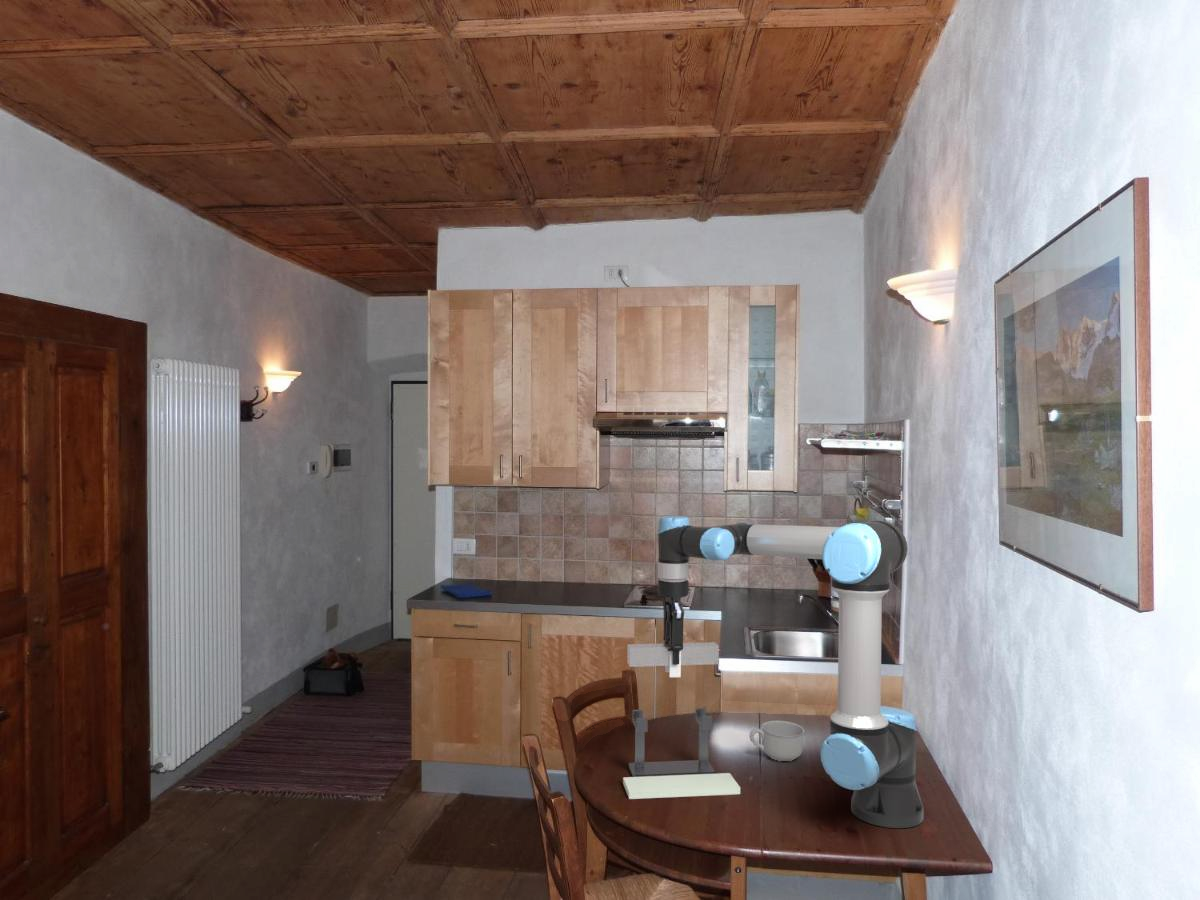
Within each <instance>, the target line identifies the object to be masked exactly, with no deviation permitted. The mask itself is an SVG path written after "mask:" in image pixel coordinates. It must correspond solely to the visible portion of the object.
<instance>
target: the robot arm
mask: <svg viewBox="0 0 1200 900" xmlns="http://www.w3.org/2000/svg"><path fill="white" fill-rule="evenodd" d="M657 539H658V540H657V541H658V542H657V543H658V561H657V577H658V578H659V579H658V580H657V581H658V582H657V593H658V596H661V597H663V598H665V600H663V602H662V606H663V607H662V608H663V637H662V638H663V641H664V643H670V648H668V651H669V666H664V667H665V670H664V672H665V673H668V676H669V678H682V677H681V676H682V672H681V671H682V668H681V667H682V665H681V650H683V643H684V617H685V609H684V607H683V603H682V602H681V601H682V600H681V598H683V597H687V596H688V595H689V593H690V589H689V587H690V586H689V585H690V582H689V580H688V578H689V573H690V571H689V570H691V568H692V566H691V565H689V563H690V560H689V559H690V558H694V559H695V558H696V559H703V560H704V559H705V560H710V561H726V560H728V559H729V558H730V556H734V555H735V556H736V555H738V556H739V555H743V556H744V555H745V556H763V557H780V558H794V559H795V558H796V559H810V560H811V559H813V560H821V561H822V564H823V567H824V569H825V571H826V572H828V574H829V575H828V576H830V577H831V578H830V580H831V582H830V583H831V588H832V590H833V591H834V592H835V593H836V594H837V596H838V645H837V646H838V647H837V648H838V651H837V654H838V655H837V656H838V657H837V661H838V662H837V665H838V667H837V672H838V673H837V679H838V680H837V709H836V710H835V711H834V712H833V713H832V714H831V715H830V717H829V718H830V720H829V725H830V727H829V736H827V738H825V739H824V741H823V743H822V745H821V747H820V761H821V764H822V767H823V769H824V771H825V773H826V774H827V775H829V777H830V778H831V780H832V781H834V783H835V784H837V785H838V786H840V787H842V788H844V789H847V790H852V791H853V792H852V793H853V794H852V796H851V801H850V804H851V805H850V810H851V813H852V815H854V816H855V817H856V818H858V819H860V820H861V821H863V822H865V823H868V824H870V825H874V826H879V827H883V828H888V829H889V828H890V829H906V828H907V829H909V828H912V827H916V826H918V825H920V824H921V823H922V822H923V821H924V805H923V802H922V799H921V796H920V793H919V789H918V787H917V784H916V765H917V764H916V763H917V761H916V760H917V755H916V754H917V753H916V752H917V732H918V728H917V723H916V722H917V721H916V717H915V715H914V714H912V713H911V712H909V711H907V710H904V709H901V708H897V707H892V706H885V705H882V704H881V703H882V701H881V700H882V697H881V695H882V624H883V623H882V619H883V618H882V614H883V613H882V611H883V610H882V609H883V607H882V605H883V604H882V603H883V602H882V600H883V597H884V596H885V595H886V594H887V593H889V592H890V587H891V586H890V584H891V583H890V581H891V578H890V577H891V574H892V573H894V572H896V571H897V570H899V568H901V567H902V566H903V564H904V563H905V561H906V559H907V555H908V542H907V538H906V537H905V535H904V533H903V532H902V530H901V529H900V528H899V527H897V526H896V525H895V524H892V523H891V522H888V521H885V520H884V521H883V520H871V521H865V522H853V523H847V524H845V525H843V526H821V525H820V526H817V525H790V524H789V525H783V524H757V523H756V524H752V523H750V522H737V523H733V524H726V525H725V524H723V525H716V526H715V525H714V526H694V525H691V524H690V519H689V518H688V517H687V516H684V515H683V516H682V515H664V516H662V517H660V518H659V520H658V532H657Z"/></svg>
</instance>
